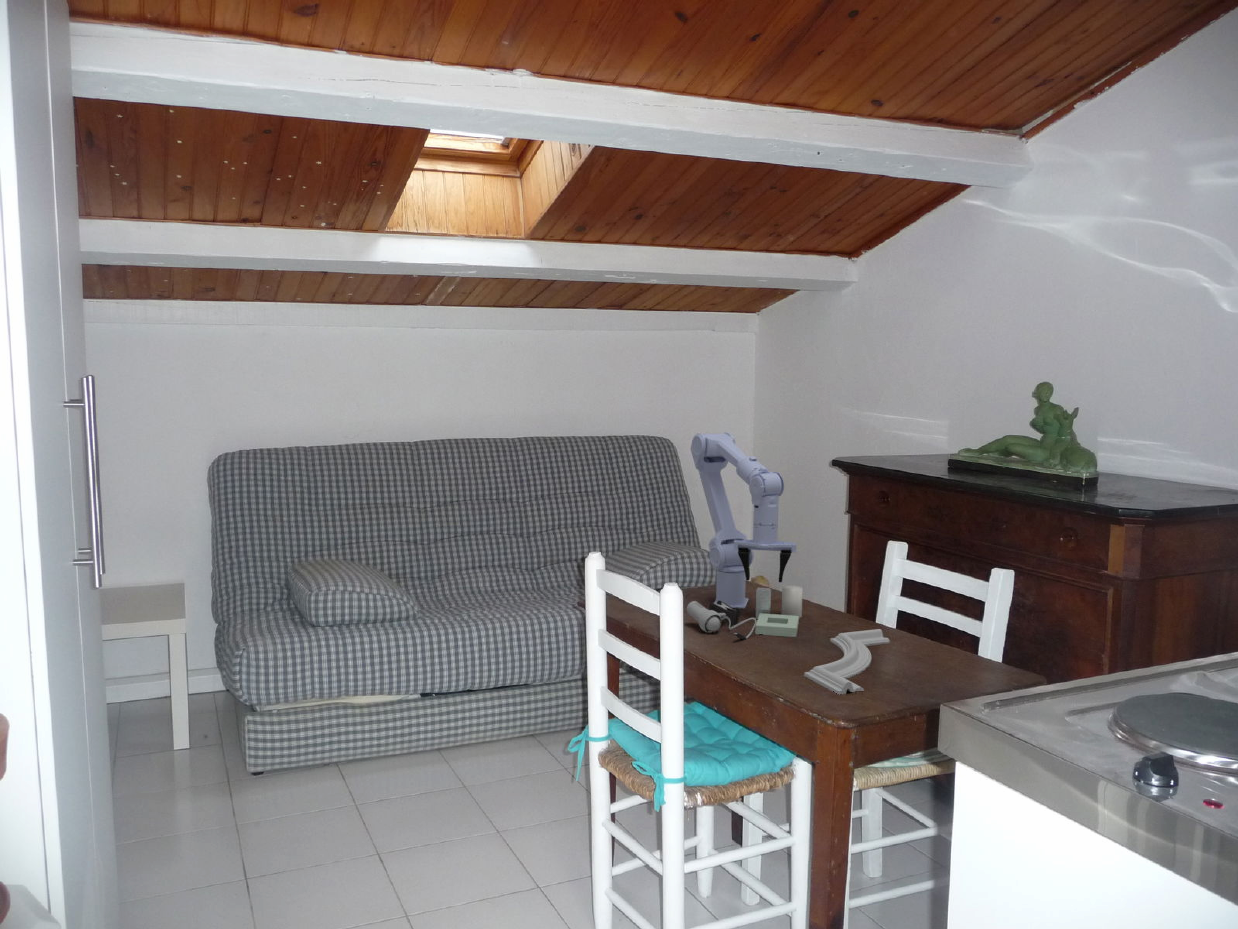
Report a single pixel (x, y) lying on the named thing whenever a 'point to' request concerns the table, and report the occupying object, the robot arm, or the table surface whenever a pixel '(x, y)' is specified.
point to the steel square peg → (763, 601)
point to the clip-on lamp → (717, 616)
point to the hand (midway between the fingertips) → (764, 580)
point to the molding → (847, 660)
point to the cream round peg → (792, 600)
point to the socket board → (777, 625)
